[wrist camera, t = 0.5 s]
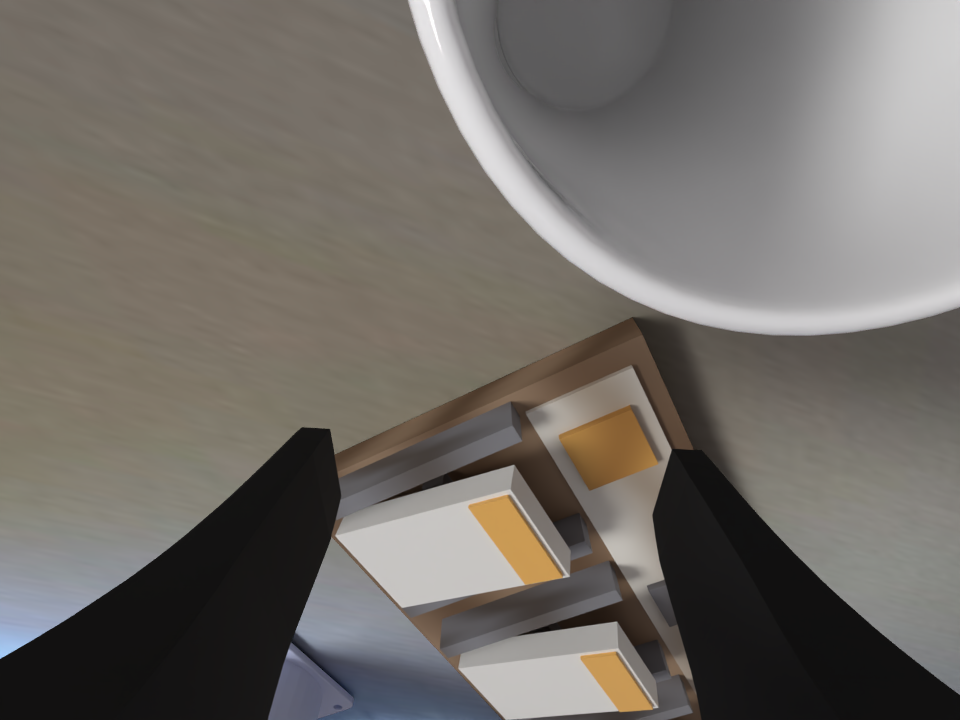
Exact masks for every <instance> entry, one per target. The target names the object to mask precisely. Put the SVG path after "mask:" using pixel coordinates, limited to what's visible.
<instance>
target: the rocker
mask: <svg viewBox="0 0 960 720" xmlns="http://www.w3.org/2000/svg"><path fill="white" fill-rule="evenodd" d="M335 536H336V537H337V539H338V540H339V541H340V542H341V543H342V544H343V545H344V546H345V547H346V548H347V549H348V550H349V551H350V553H351V554H352V555H353V556H354V557H355V558H356V559H357V560H358V561H359V562H360V563H361V564H362V565H363V567H364V568H365V569H366V570H367V571H368V572H369V573H370V574H371V575H372V576H373V577H374V578H375V579H376V581H377V582H378V583H379V584H380V585H381V586H382V587H383V588H384V589H385V590H386V591H387V592H388V593H389V595H390V596H391V597H392V598H393V599H394V600H395V601H396V602H397V603H398V604H399V605H400V606H401V607H402V608H404V607H410V606H415V605H421V604H426V603H431V602H437V601H442V600H447V599H453V598H458V597H464V596H469V595H474V594H480V593H485V592H491V591H496V590H501V589H507V588H512V587H517V586H523V585H528V584H534V583H539V582H544V581H550V580H555V579H561V578H566V577H570V555H571V550H570V549H569V547H568V546H567V544H566V543H565V541H564V540H563V538H562V537H561V535H560V534H559V532H558V531H557V529H556V528H555V526H554V525H553V523H552V521H551V520H550V518H549V517H548V515H547V514H546V512H545V511H544V509H543V508H542V506H541V505H540V503H539V502H538V500H537V499H536V497H535V495H534V494H533V492H532V491H531V489H530V488H529V486H528V485H527V483H526V482H525V480H524V479H523V477H522V476H521V474H520V473H519V471H518V470H517V468H516V466H515V465H512V466H508V467H505V468H501V469H498V470H494V471H491V472H487V473H484V474H480V475H477V476H473V477H470V478H466V479H463V480H459V481H456V482H452V483H448V484H445V485H441V486H438V487H434V488H431V489H427V490H424V491H420V492H417V493H413V494H410V495H406V496H403V497H399V498H396V499H392V500H389V501H385V502H382V503H378V504H375V505H371V506H369V507H366V508H364V509H362V510H359V511H357V512H354V513H352V514H350V515H347V516H345V517H344V518H343V520H342V522H341V524H340V526H339V528H338V530H337V533H336V535H335Z"/></svg>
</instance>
